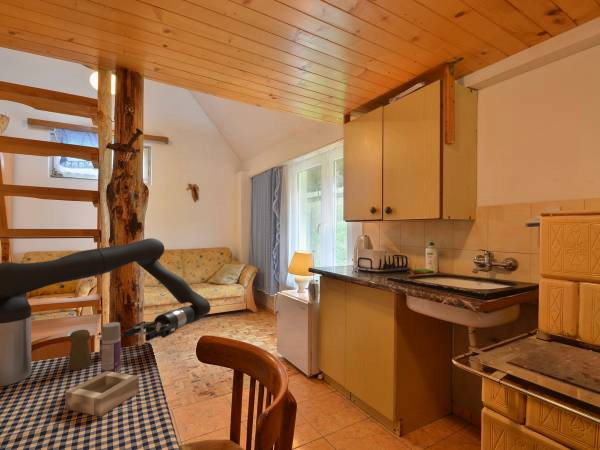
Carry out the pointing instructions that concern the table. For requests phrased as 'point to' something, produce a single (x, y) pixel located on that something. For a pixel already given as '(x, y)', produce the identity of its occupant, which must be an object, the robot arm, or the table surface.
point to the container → (111, 347)
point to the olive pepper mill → (79, 350)
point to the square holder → (92, 398)
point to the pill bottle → (101, 345)
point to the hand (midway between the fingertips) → (135, 336)
